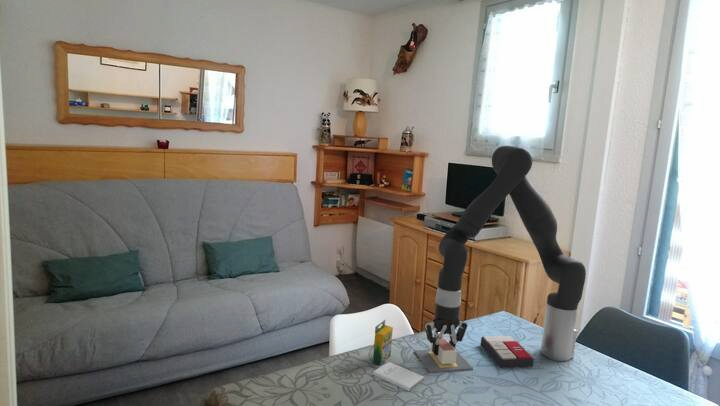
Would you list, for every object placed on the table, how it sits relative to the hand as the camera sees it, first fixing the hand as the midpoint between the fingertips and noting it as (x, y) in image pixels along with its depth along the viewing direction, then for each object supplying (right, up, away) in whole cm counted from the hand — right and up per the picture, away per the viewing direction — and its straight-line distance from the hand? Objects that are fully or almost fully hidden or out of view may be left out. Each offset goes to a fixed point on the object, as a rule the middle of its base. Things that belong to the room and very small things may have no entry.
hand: (443, 353), depth 140 cm
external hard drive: (-15, -4, -11) cm, 19 cm away
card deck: (0, -1, 0) cm, 1 cm away
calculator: (+21, -3, +6) cm, 22 cm away
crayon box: (-19, -2, -1) cm, 19 cm away
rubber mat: (0, -2, 0) cm, 2 cm away
